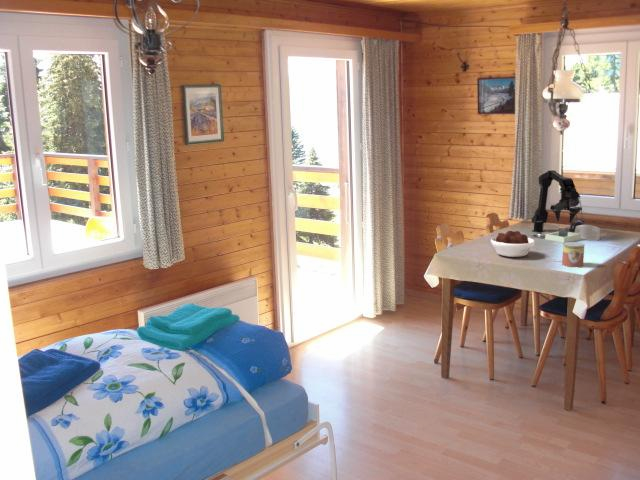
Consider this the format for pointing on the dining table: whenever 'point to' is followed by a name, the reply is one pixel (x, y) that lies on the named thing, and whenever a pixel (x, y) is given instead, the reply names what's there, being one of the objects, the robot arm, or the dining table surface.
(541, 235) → the stud
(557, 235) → the bin
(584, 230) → the white arched block
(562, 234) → the strut
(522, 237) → the bowl of brown food
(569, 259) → the canned food
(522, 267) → the dining table surface
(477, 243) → the dining table surface
